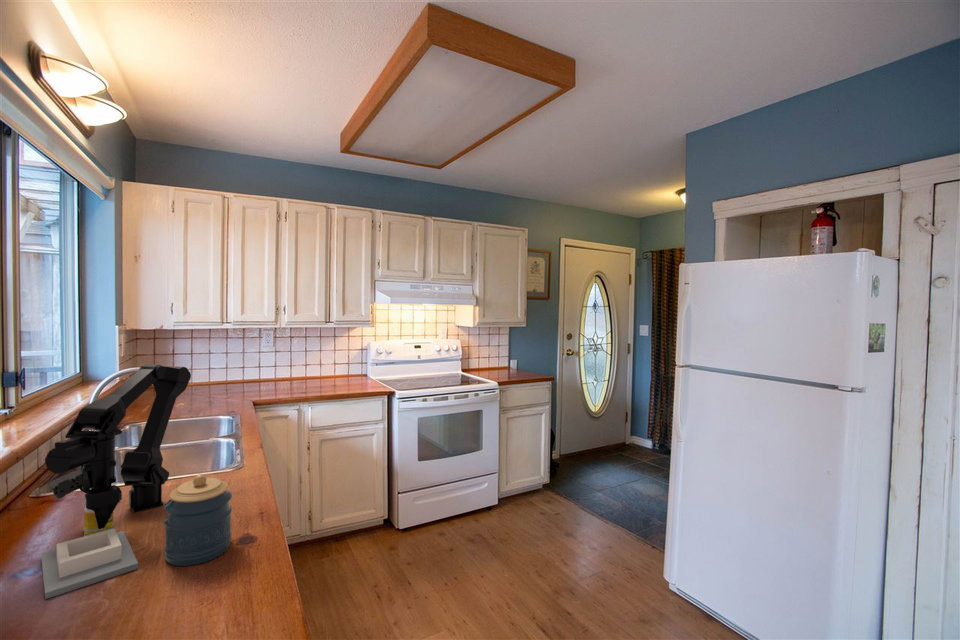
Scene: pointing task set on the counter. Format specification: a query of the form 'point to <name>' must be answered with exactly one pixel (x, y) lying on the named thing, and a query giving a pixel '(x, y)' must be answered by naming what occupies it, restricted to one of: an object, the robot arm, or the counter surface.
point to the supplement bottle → (94, 523)
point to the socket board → (86, 561)
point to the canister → (197, 521)
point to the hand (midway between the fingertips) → (98, 521)
